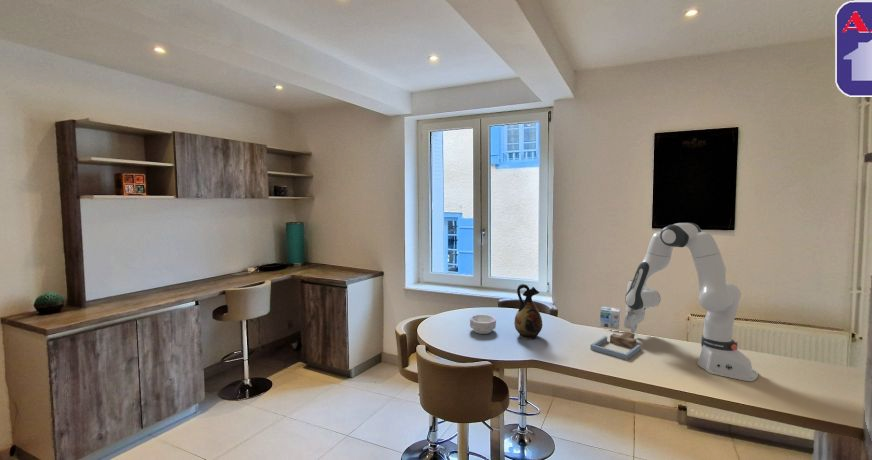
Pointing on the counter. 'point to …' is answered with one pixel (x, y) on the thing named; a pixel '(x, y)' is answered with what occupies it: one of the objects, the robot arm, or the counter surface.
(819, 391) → the counter surface
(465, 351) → the counter surface
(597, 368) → the counter surface
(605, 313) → the light bulb box
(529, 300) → the ceramic jug
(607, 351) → the docking bay
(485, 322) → the white stone bowl
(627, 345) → the walnut T block
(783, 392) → the counter surface
